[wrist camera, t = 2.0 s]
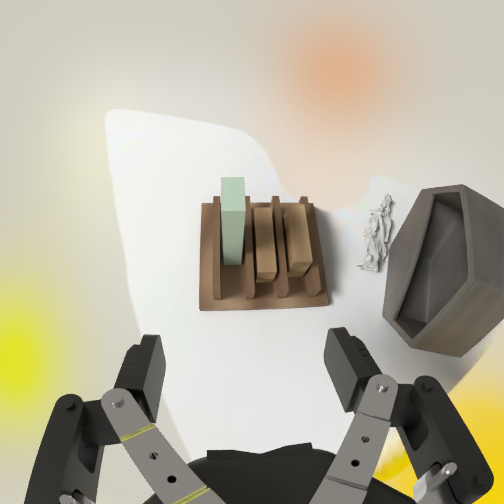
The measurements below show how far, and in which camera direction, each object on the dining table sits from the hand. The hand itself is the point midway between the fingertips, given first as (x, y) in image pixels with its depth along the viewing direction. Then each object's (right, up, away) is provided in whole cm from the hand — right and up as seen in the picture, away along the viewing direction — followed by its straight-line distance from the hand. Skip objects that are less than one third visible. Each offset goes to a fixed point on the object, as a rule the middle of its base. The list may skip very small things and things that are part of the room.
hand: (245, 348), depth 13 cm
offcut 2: (+5, +5, +23) cm, 24 cm away
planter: (+22, -1, +23) cm, 32 cm away
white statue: (+18, +8, +27) cm, 33 cm away
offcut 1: (+2, +5, +22) cm, 23 cm away
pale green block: (-2, +5, +22) cm, 23 cm away
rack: (+1, +4, +23) cm, 24 cm away
